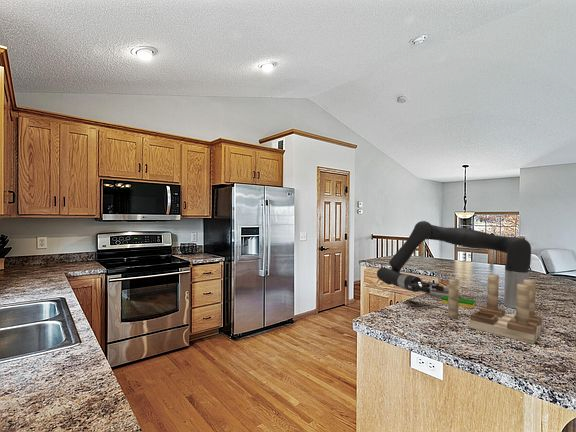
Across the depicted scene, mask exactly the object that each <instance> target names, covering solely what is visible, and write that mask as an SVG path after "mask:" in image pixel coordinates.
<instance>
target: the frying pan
mask: <svg viewBox="0 0 576 432" xmlns="http://www.w3.org/2000/svg"><path fill="white" fill-rule="evenodd" d="M443 287H444V291H443V292H441V291H438V290H430V293H426V294H427V295H429V296H432V297H436V298H437V297H438V298H442V297H443V296H449V284H448V285H446V286H443ZM428 288H430V287H428ZM459 295H460V292H459Z"/></svg>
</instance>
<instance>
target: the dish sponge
mask: <svg viewBox="0 0 576 432" xmlns="http://www.w3.org/2000/svg"><path fill="white" fill-rule="evenodd" d="M440 298H441V297H440ZM448 298H449V296H443V297H442V298H441V299H440V303H442V304H443V303H444V304H447V305H448ZM475 305H476V300H473V299H467V298H462V297H461V298H460V297H459V302H458V307H465V308H471V309H473V308H475Z"/></svg>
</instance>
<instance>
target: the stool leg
mask: <svg viewBox="0 0 576 432" xmlns="http://www.w3.org/2000/svg"><path fill="white" fill-rule="evenodd" d="M448 286H449V298H448V304H447V306H448V307H447V318H449V319H452V320H457V319H459V305H458V302H459V298H460V297H459V296H460V294H459V293H460V280H459V279H455V278H449V279H448Z"/></svg>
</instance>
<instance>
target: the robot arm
mask: <svg viewBox="0 0 576 432" xmlns="http://www.w3.org/2000/svg"><path fill="white" fill-rule="evenodd" d="M426 240H431V241H432V240H434V241H440V242H445V243H448V244H452V245H455V246H458V247H459V246H460V247H464V248H469V249H477V250H478V249H479V250H493V251H497V252H501V253H504V254H506V263H505V265H504V293H503V294H504V296H503V306H505V307H507V308H511V309H515V310H516V299H517V284H523V279H529V275H530V273H529V272H530V266H531V260H532V246H531V244H530V242H529V241H528V240H527V239H525V238H522V237H518V236H505V235H494V234H491V233H488V232H484V231H480V230H475V229H471V228H470V229H469V228H463V227H445V226H444V227H442V226H438V225H433V224H431V223H430V222H429V221H426V220H421V221H418V222H416V223H415V225H414V227H413V230H412V232H411V233H410V235H409V237H408V238H407V240H406V241H405V242H404V243H403V244H402V245H401V247H400V248H399V249H398V250H397V251H396V252H395V254H394V255H393V257H391V259H390V260H389V262H388V264H389V266H390V267H391V268H388V267H380V268H379V269H378V270H377V272H376V277H377V279H378V280H380V281H382V282H383V283H384V284H385V285H388V286H389V285H393V286H396V287H398V288H401V289H404V290H406V291H409V292H413V293H418V292H419V293H426V294H427V293H430V290H438V291H441V292H443V291H444V287H445V286H442V285H440V284H439V283H436V282H431V281H430V280H429V281H423V280H422V279H421V278H420V277H419V276H415V275H412V274H408V273H402V272H401V269H402V268H403V267H404V266H405V265H406V263H407V262H408V261H409V260H410V258H411V257H412V255H413V253H414V252H415V251H416V250H417V248H418V247H419V246H420V245H421V244H422V243H423V242H424V241H426ZM428 287H430V288H428Z"/></svg>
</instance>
